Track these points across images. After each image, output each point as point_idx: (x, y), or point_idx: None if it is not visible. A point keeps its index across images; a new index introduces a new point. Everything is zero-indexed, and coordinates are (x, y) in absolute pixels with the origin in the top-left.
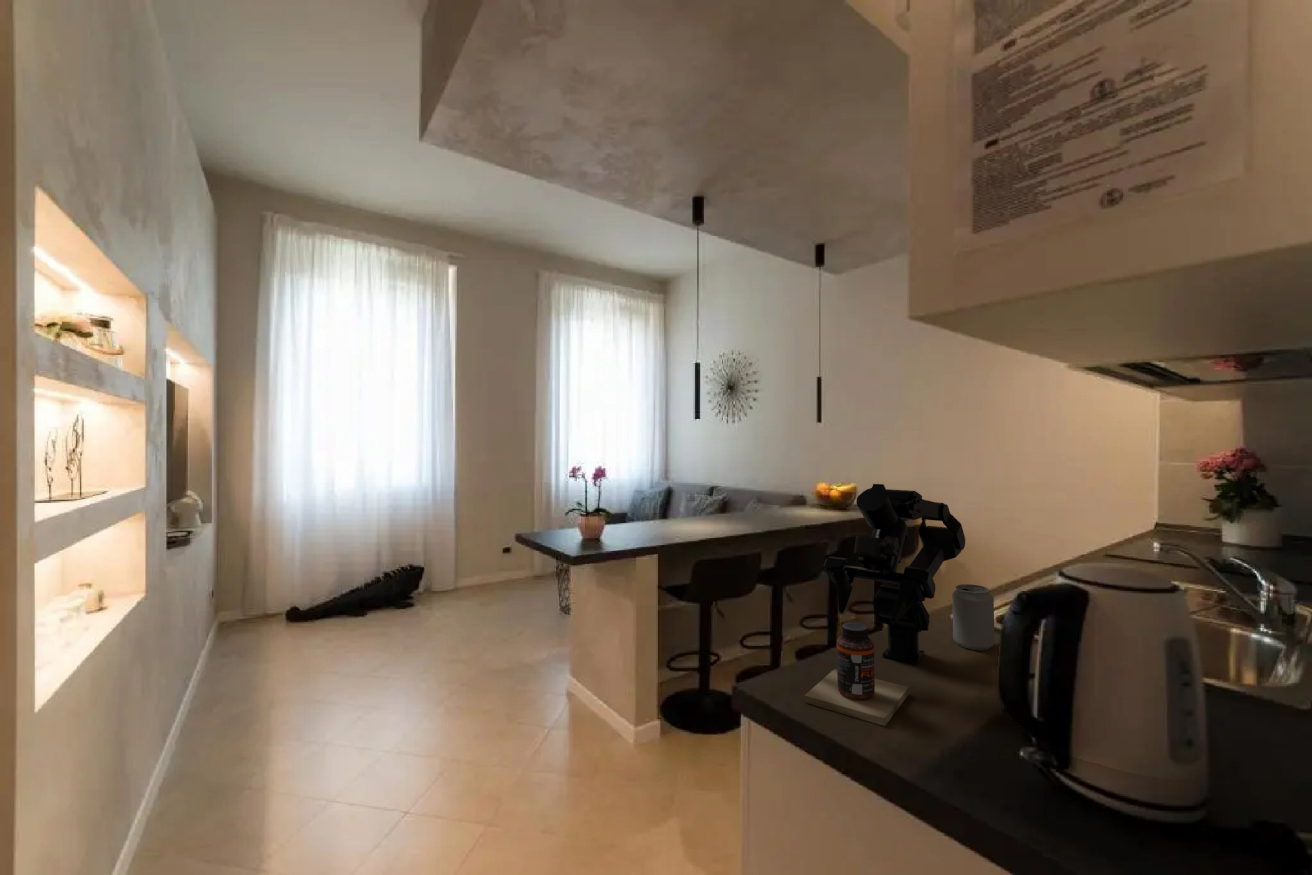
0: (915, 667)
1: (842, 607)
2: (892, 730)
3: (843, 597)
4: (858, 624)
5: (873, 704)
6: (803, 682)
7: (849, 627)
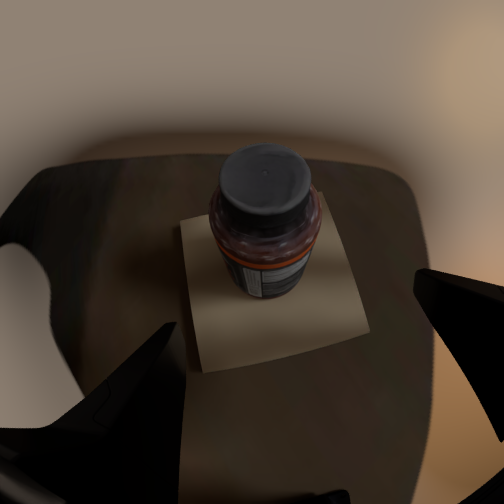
0: (264, 496)
1: (426, 283)
2: (170, 226)
3: (462, 294)
4: (267, 197)
5: (216, 249)
6: (377, 257)
7: (268, 151)
